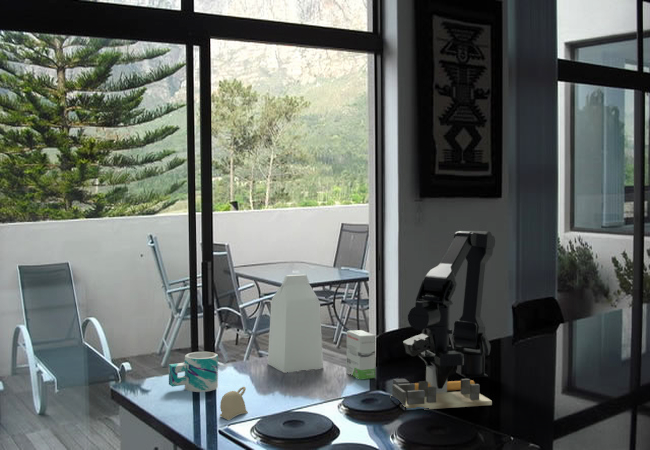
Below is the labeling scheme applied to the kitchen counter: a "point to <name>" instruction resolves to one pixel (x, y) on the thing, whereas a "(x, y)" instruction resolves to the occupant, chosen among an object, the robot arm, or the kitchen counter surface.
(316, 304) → the milk
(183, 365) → the mug
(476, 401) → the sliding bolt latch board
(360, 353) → the ink box
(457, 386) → the toy hammer
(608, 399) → the kitchen counter surface
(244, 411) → the decorative ornament
